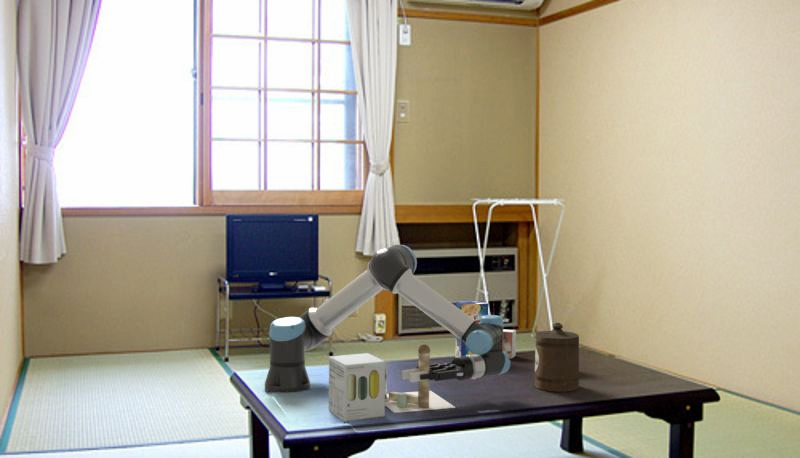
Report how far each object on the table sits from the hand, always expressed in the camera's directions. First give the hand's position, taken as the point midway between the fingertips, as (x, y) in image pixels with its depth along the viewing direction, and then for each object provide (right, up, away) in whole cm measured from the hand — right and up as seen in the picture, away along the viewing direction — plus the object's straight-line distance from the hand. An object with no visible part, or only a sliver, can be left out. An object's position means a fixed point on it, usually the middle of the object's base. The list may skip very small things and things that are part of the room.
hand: (406, 376), depth 278 cm
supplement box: (-15, -12, -3) cm, 19 cm away
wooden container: (+51, -9, +34) cm, 62 cm away
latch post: (-1, -10, +4) cm, 11 cm away
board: (+2, -10, +11) cm, 15 cm away
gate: (+1, -10, +7) cm, 12 cm away
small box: (+39, -6, +83) cm, 92 cm away
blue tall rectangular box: (+26, -6, +78) cm, 82 cm away
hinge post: (-8, -9, +12) cm, 17 cm away
